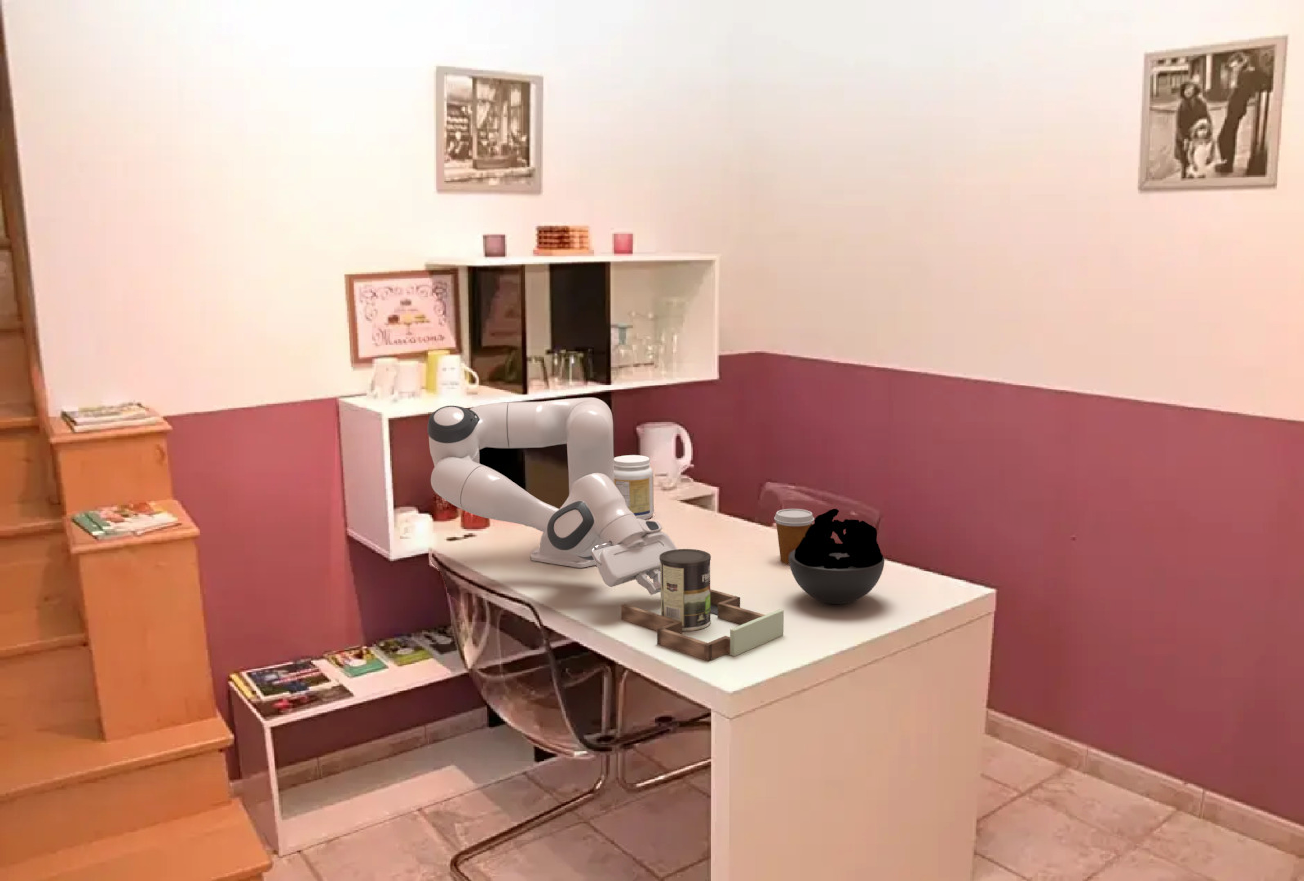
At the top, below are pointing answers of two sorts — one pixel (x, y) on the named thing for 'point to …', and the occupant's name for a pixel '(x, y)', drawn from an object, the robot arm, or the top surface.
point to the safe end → (756, 632)
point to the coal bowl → (837, 560)
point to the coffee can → (686, 587)
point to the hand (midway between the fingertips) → (657, 591)
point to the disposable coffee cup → (791, 529)
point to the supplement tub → (635, 484)
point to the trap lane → (673, 638)
